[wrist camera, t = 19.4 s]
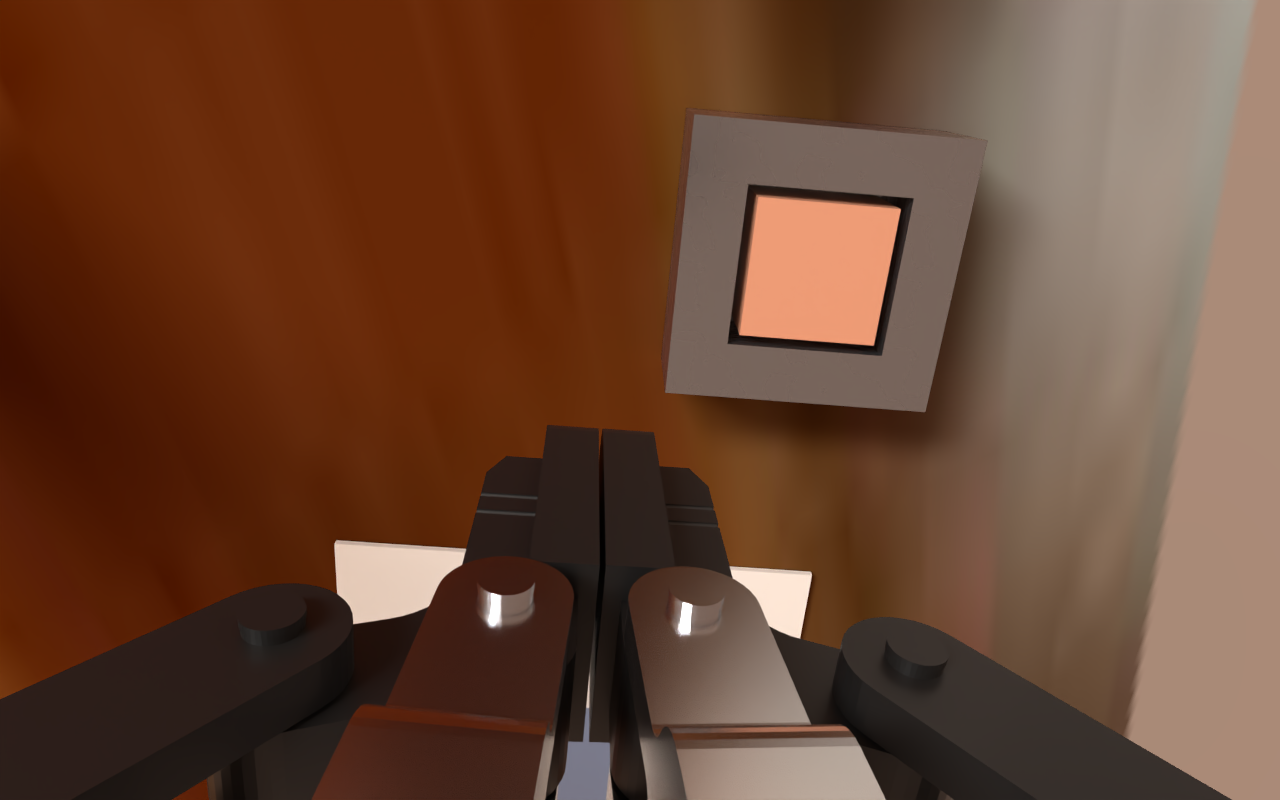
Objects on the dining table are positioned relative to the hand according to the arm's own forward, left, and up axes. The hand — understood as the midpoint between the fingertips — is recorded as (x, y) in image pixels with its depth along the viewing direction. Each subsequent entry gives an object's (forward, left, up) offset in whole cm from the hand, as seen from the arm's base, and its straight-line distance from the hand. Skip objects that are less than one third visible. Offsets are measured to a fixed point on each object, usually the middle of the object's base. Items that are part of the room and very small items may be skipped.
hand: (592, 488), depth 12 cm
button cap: (+7, -1, -22) cm, 23 cm away
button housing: (+7, -1, -23) cm, 24 cm away
